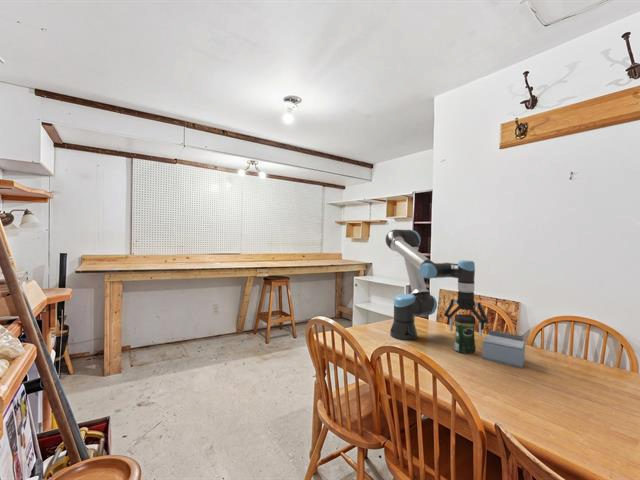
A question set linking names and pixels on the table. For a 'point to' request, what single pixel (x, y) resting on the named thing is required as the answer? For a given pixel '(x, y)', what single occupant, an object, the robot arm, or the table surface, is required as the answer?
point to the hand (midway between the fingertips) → (465, 333)
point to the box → (503, 354)
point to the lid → (505, 339)
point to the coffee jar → (464, 333)
